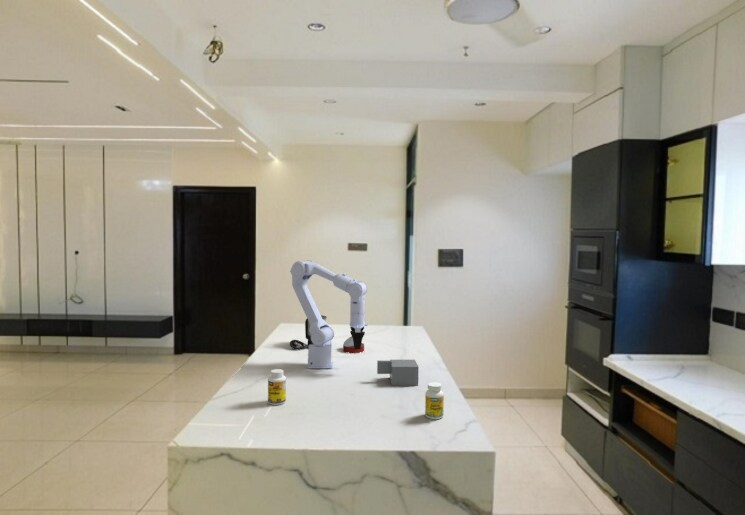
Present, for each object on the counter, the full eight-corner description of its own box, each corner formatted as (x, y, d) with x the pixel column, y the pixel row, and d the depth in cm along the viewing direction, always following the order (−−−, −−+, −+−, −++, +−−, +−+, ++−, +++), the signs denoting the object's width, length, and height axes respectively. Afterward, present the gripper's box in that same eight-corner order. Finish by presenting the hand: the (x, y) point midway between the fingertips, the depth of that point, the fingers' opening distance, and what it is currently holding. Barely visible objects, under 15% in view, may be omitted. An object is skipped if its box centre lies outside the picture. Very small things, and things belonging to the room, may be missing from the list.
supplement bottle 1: (264, 404, 139) (264, 372, 139) (273, 398, 145) (273, 367, 144) (280, 406, 138) (280, 374, 137) (289, 400, 143) (289, 369, 143)
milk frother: (330, 346, 214) (330, 316, 213) (308, 353, 201) (308, 321, 200) (308, 342, 222) (308, 313, 221) (285, 349, 209) (285, 317, 208)
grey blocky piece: (377, 385, 158) (378, 364, 158) (376, 377, 168) (376, 357, 167) (418, 385, 159) (418, 364, 159) (414, 377, 168) (414, 357, 168)
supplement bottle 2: (439, 412, 135) (440, 380, 135) (446, 419, 130) (446, 386, 129) (422, 413, 134) (423, 381, 133) (428, 420, 129) (429, 387, 128)
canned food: (361, 362, 204) (362, 346, 199) (340, 359, 206) (340, 342, 201) (366, 346, 214) (367, 330, 209) (346, 343, 215) (346, 327, 210)
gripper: (368, 315, 169) (368, 351, 169) (366, 309, 183) (366, 342, 184) (349, 315, 168) (349, 351, 169) (349, 309, 183) (349, 342, 183)
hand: (357, 346), depth 176 cm, fingers open, 7 cm apart
